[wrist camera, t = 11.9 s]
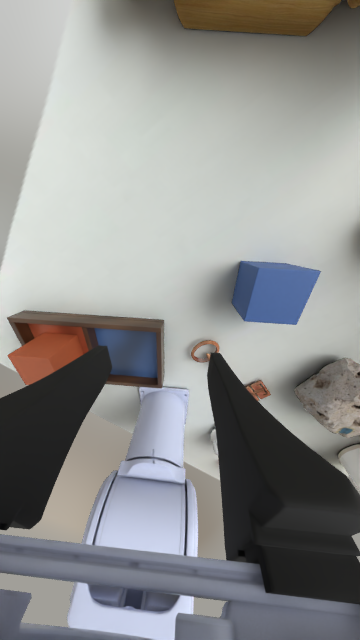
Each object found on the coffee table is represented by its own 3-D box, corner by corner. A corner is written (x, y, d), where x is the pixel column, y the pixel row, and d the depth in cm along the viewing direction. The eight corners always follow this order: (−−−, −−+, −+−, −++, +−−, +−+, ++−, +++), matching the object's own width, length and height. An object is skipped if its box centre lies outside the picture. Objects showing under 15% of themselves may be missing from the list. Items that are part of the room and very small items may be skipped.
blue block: (271, 305, 17) (296, 324, 13) (231, 303, 17) (243, 321, 13) (286, 263, 15) (321, 271, 11) (240, 260, 15) (258, 267, 11)
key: (270, 393, 24) (224, 326, 19) (273, 398, 23) (226, 329, 18) (237, 408, 25) (185, 349, 20) (239, 413, 24) (186, 353, 19)
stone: (418, 420, 20) (340, 450, 22) (365, 381, 24) (306, 410, 27) (430, 378, 13) (320, 427, 16) (356, 338, 18) (281, 381, 21)
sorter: (164, 319, 19) (161, 328, 17) (164, 377, 23) (162, 388, 21) (24, 310, 19) (6, 317, 17) (51, 368, 24) (39, 378, 22)
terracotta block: (86, 361, 22) (62, 388, 18) (55, 358, 22) (25, 385, 18) (77, 334, 20) (48, 358, 16) (44, 332, 20) (6, 355, 16)
